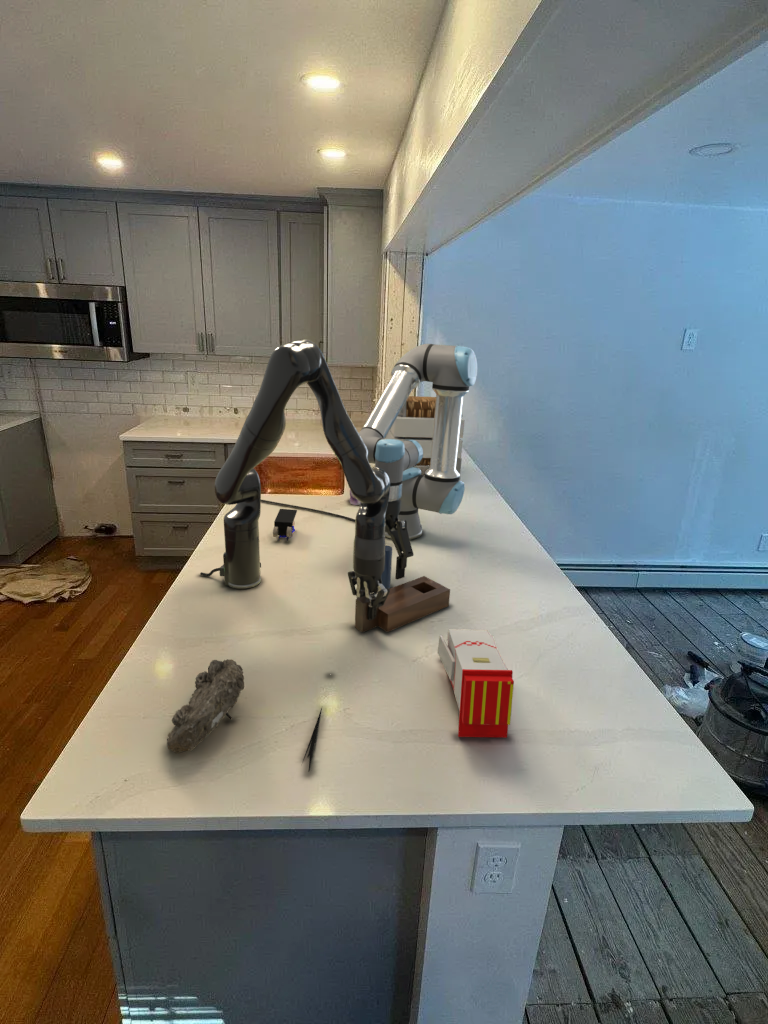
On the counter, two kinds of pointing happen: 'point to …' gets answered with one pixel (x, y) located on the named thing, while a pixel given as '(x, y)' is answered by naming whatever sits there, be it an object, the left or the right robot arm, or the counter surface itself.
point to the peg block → (403, 605)
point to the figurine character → (284, 523)
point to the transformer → (421, 427)
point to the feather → (313, 740)
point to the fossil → (206, 705)
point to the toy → (478, 682)
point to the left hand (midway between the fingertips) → (366, 615)
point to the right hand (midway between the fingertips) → (383, 569)
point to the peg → (387, 567)
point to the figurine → (353, 499)
